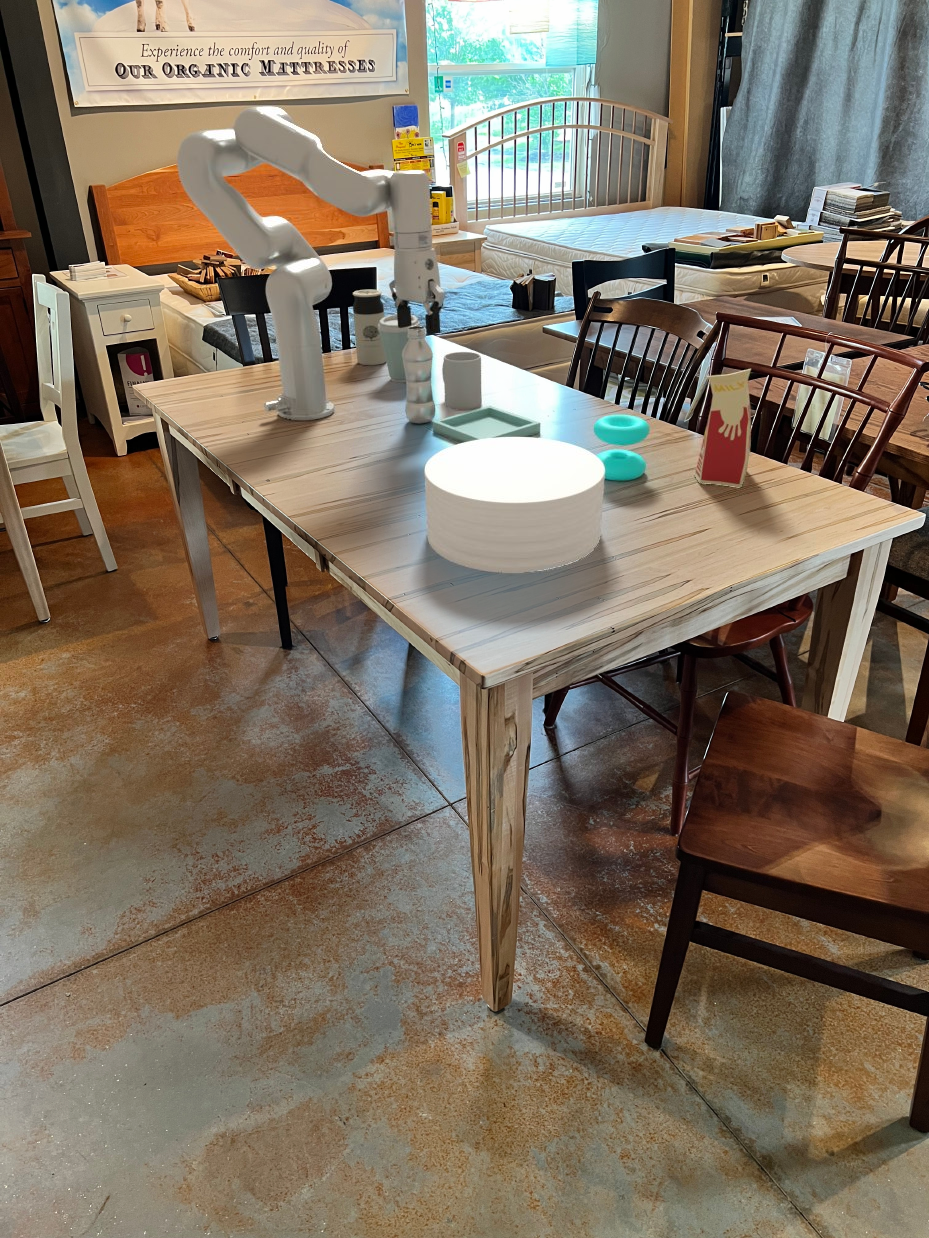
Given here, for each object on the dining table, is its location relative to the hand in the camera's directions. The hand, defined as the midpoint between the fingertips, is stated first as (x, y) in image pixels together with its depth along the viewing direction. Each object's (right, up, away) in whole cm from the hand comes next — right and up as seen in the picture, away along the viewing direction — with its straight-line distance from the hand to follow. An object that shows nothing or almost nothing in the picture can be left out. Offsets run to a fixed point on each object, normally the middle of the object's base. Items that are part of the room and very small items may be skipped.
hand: (418, 330), depth 179 cm
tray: (+14, -20, +4) cm, 25 cm away
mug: (+8, -10, +22) cm, 25 cm away
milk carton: (+56, -34, -20) cm, 69 cm away
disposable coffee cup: (-6, +1, +39) cm, 40 cm away
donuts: (+38, -33, -17) cm, 53 cm away
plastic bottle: (0, -17, +10) cm, 20 cm away
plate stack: (+17, -46, -39) cm, 63 cm away
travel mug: (-15, +9, +54) cm, 57 cm away
